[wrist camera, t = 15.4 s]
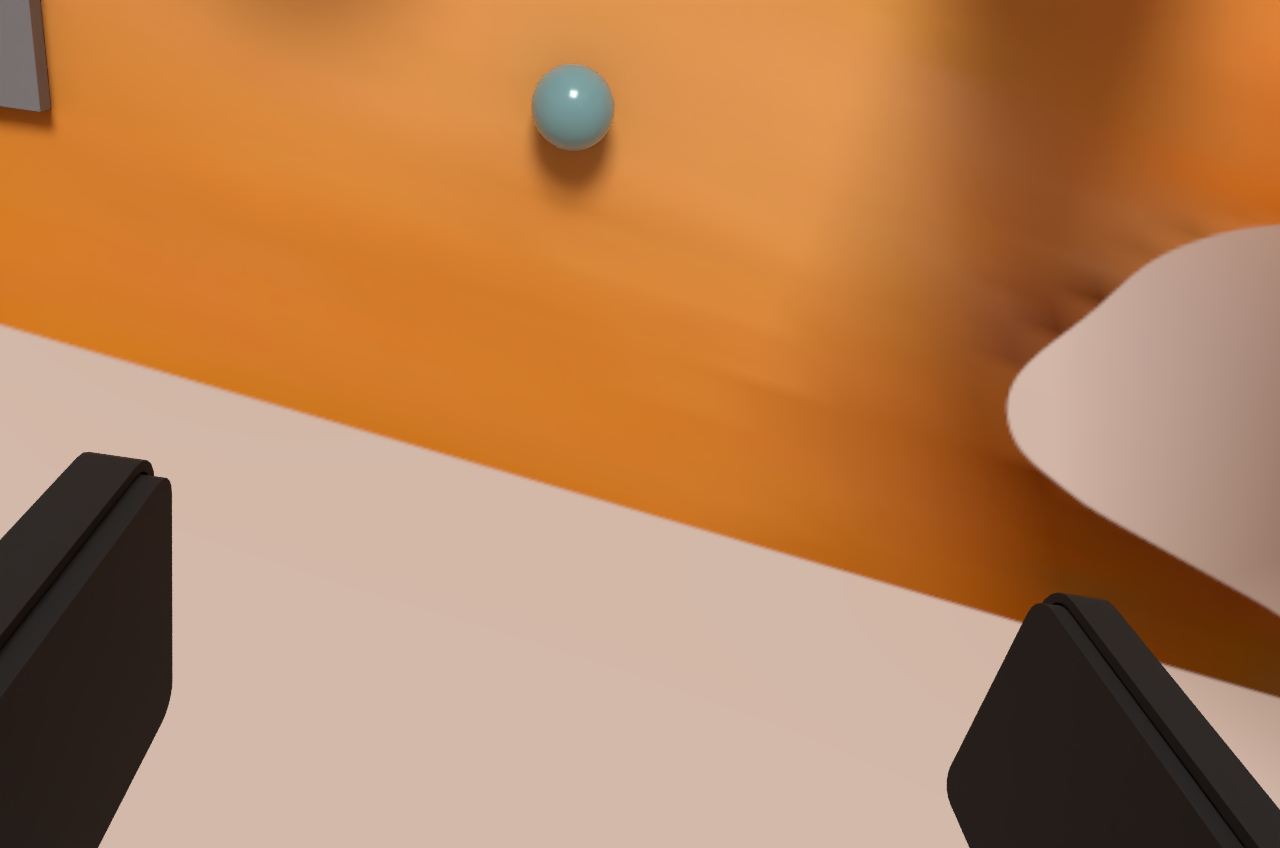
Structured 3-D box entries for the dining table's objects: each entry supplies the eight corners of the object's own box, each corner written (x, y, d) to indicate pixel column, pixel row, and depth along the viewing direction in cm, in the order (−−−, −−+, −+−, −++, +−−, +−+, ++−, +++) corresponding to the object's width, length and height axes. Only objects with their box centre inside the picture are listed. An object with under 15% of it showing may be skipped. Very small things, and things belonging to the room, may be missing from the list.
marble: (514, 59, 34) (571, 63, 32) (577, 63, 36) (633, 67, 34) (513, 147, 35) (568, 155, 33) (574, 146, 37) (629, 154, 35)
